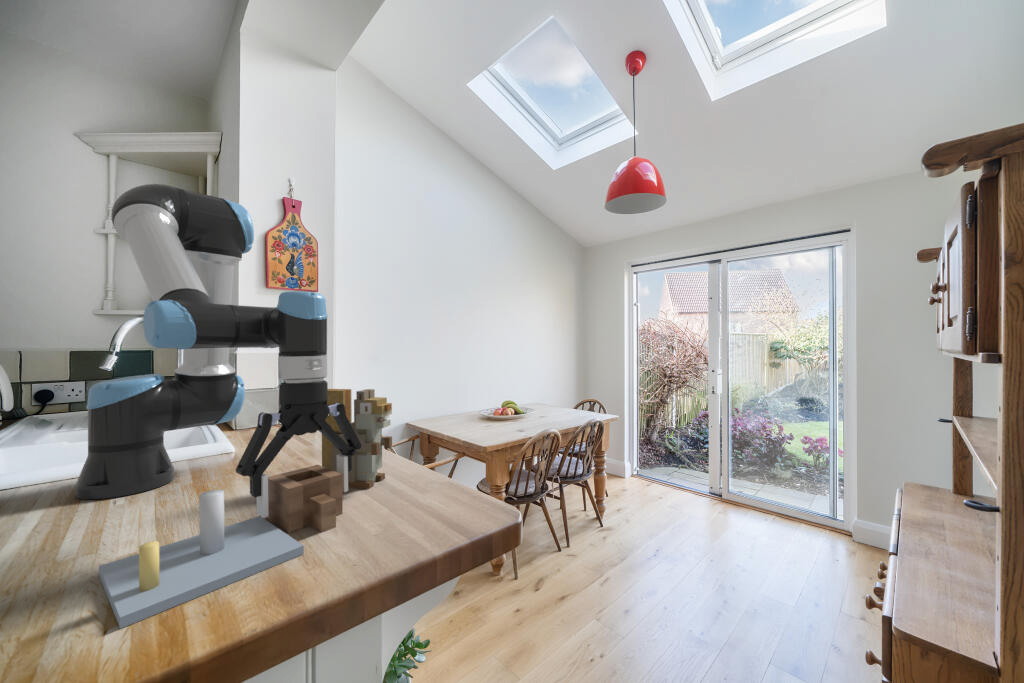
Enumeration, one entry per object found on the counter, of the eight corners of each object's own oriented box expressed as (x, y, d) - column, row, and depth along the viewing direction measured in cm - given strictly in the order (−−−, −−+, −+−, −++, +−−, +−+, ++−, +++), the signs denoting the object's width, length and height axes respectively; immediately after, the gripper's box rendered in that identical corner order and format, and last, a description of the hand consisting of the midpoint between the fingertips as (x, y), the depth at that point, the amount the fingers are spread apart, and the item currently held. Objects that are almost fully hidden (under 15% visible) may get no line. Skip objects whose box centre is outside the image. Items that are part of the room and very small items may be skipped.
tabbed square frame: (266, 517, 70) (266, 477, 70) (318, 501, 77) (317, 464, 77) (300, 540, 61) (299, 494, 61) (354, 519, 69) (354, 478, 69)
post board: (98, 575, 53) (98, 505, 53) (259, 523, 67) (259, 468, 67) (120, 628, 43) (119, 542, 43) (303, 553, 58) (303, 489, 58)
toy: (382, 489, 82) (381, 392, 82) (309, 484, 86) (308, 391, 86) (397, 479, 89) (396, 389, 89) (328, 474, 92) (328, 387, 92)
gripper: (227, 388, 58) (229, 534, 58) (378, 376, 78) (380, 485, 78) (211, 385, 63) (212, 521, 63) (357, 374, 82) (359, 478, 82)
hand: (305, 501), depth 70 cm, fingers open, 13 cm apart
